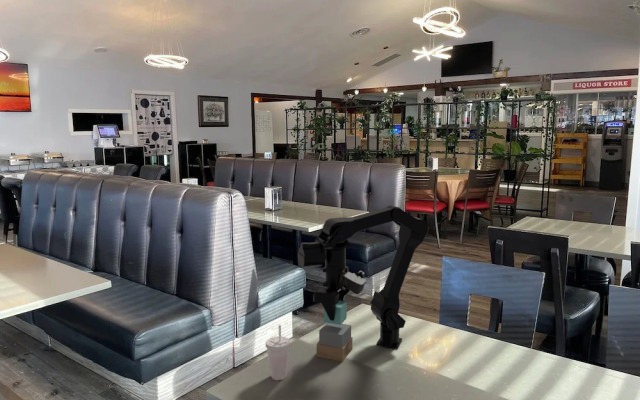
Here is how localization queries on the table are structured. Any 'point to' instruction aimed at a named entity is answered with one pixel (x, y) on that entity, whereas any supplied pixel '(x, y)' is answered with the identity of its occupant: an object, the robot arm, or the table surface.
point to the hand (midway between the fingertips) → (335, 316)
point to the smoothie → (278, 355)
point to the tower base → (334, 351)
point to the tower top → (335, 335)
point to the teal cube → (338, 314)
